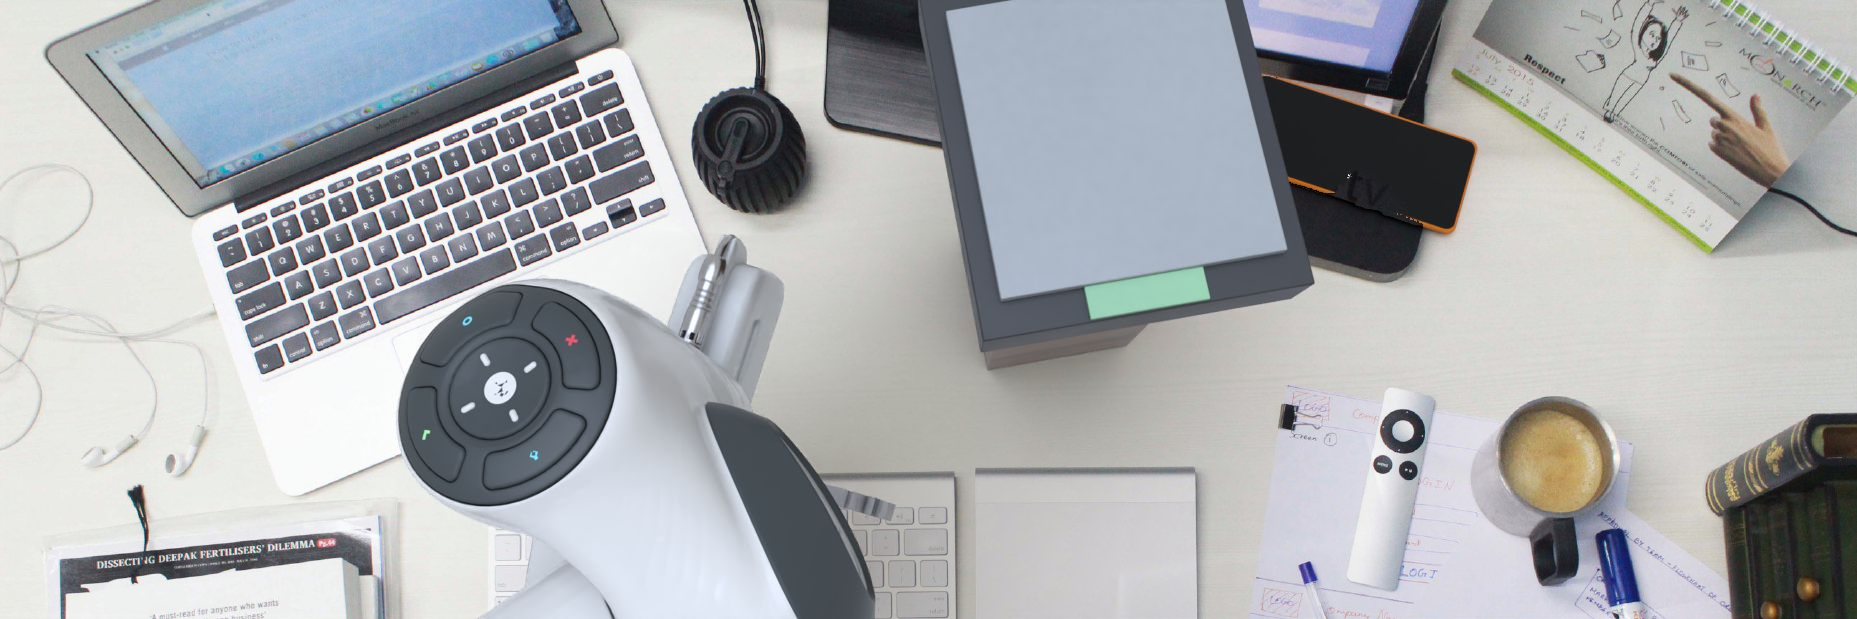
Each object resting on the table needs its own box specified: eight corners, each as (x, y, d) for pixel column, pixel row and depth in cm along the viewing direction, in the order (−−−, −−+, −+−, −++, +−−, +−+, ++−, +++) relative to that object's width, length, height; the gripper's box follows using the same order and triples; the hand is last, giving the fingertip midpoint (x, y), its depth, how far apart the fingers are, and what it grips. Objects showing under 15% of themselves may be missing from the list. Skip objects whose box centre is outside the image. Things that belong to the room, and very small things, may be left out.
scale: (1292, 299, 46) (1321, 280, 43) (980, 353, 46) (983, 339, 43) (1211, -28, 50) (1231, -70, 46) (918, 21, 49) (916, -17, 46)
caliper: (892, 503, 63) (901, 503, 57) (887, 520, 63) (895, 522, 57) (560, 407, 62) (533, 397, 56) (554, 425, 62) (526, 416, 56)
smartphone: (1255, 73, 78) (1258, 68, 77) (1475, 146, 77) (1480, 141, 76) (1225, 164, 77) (1228, 160, 76) (1448, 240, 75) (1454, 236, 75)
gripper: (661, 206, 49) (725, 279, 63) (505, 646, 45) (610, 623, 58) (789, 240, 49) (826, 306, 62) (644, 690, 44) (717, 655, 58)
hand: (720, 463), depth 60 cm, fingers closed on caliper, 1 cm apart
